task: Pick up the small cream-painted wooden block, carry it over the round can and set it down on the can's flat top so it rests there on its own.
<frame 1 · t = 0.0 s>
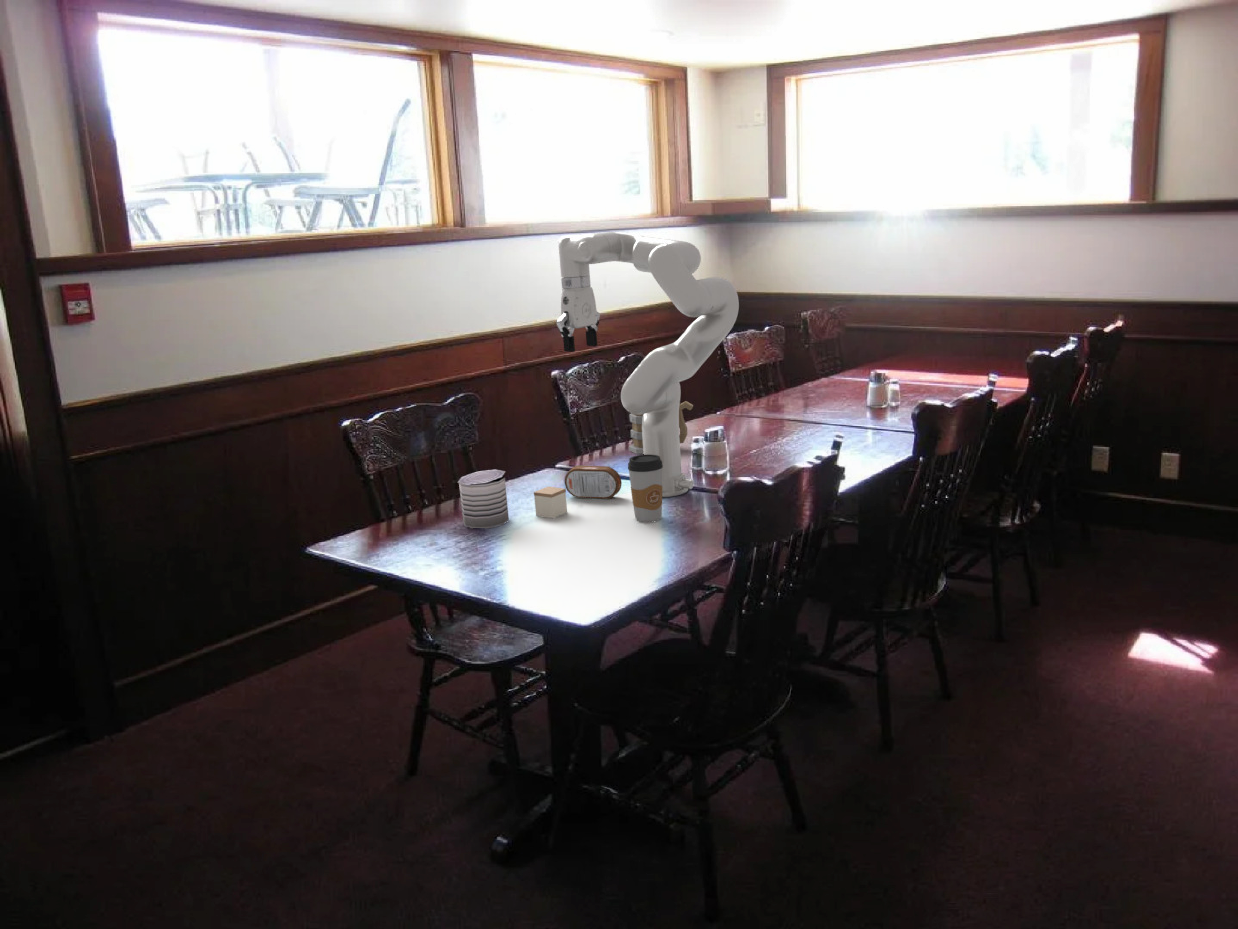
hand: (580, 348, 283), 37 cm above the table, tool pointing down, fingers open, 9 cm apart
can: (486, 522, 262), on the table
cream block: (551, 514, 264), on the table
tankard: (663, 450, 323), on the table
coffee cup: (648, 519, 255), on the table
tin: (593, 498, 276), on the table
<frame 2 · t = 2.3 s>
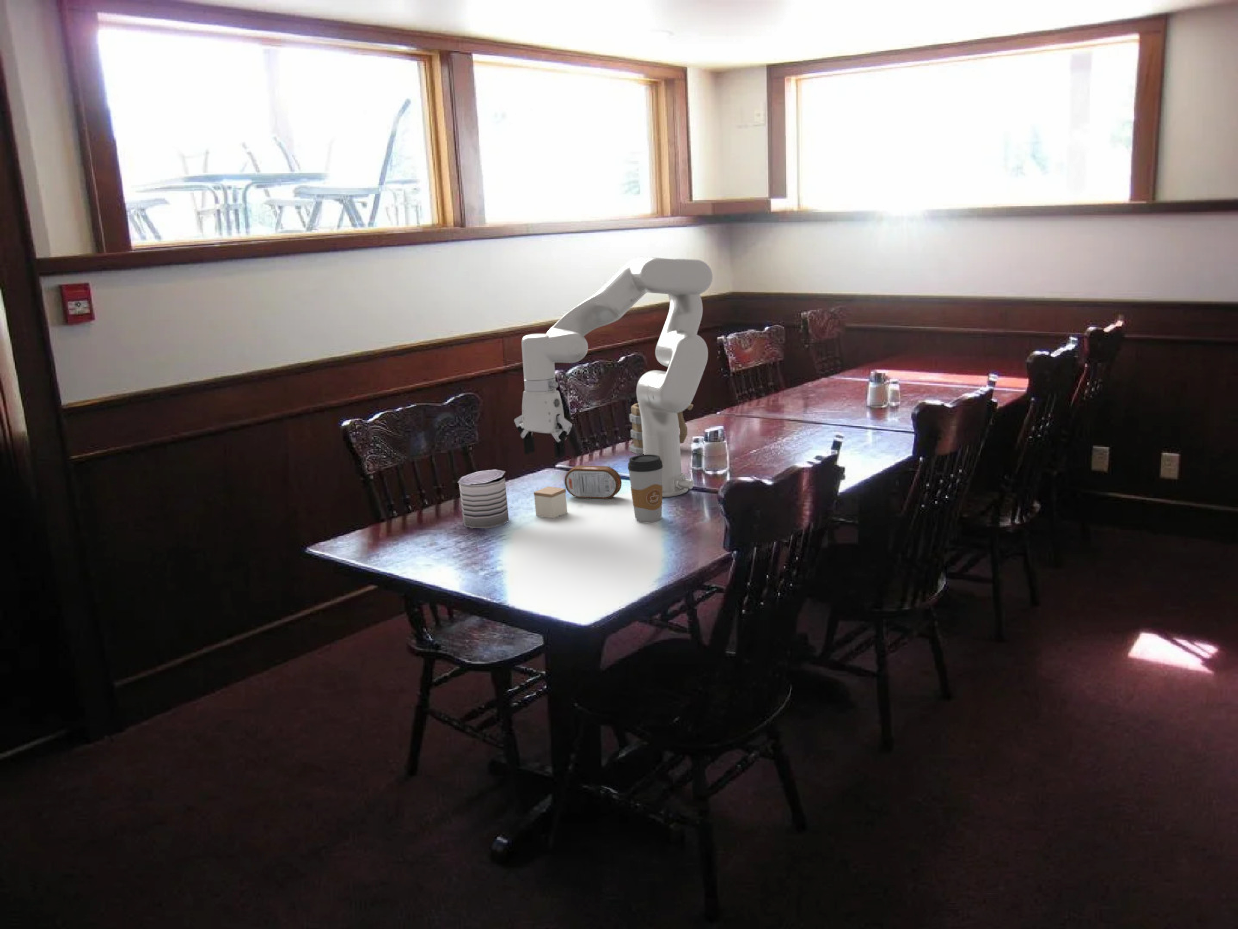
hand: (544, 454, 261), 15 cm above the table, tool pointing down, fingers open, 9 cm apart
nothing on the table moved.
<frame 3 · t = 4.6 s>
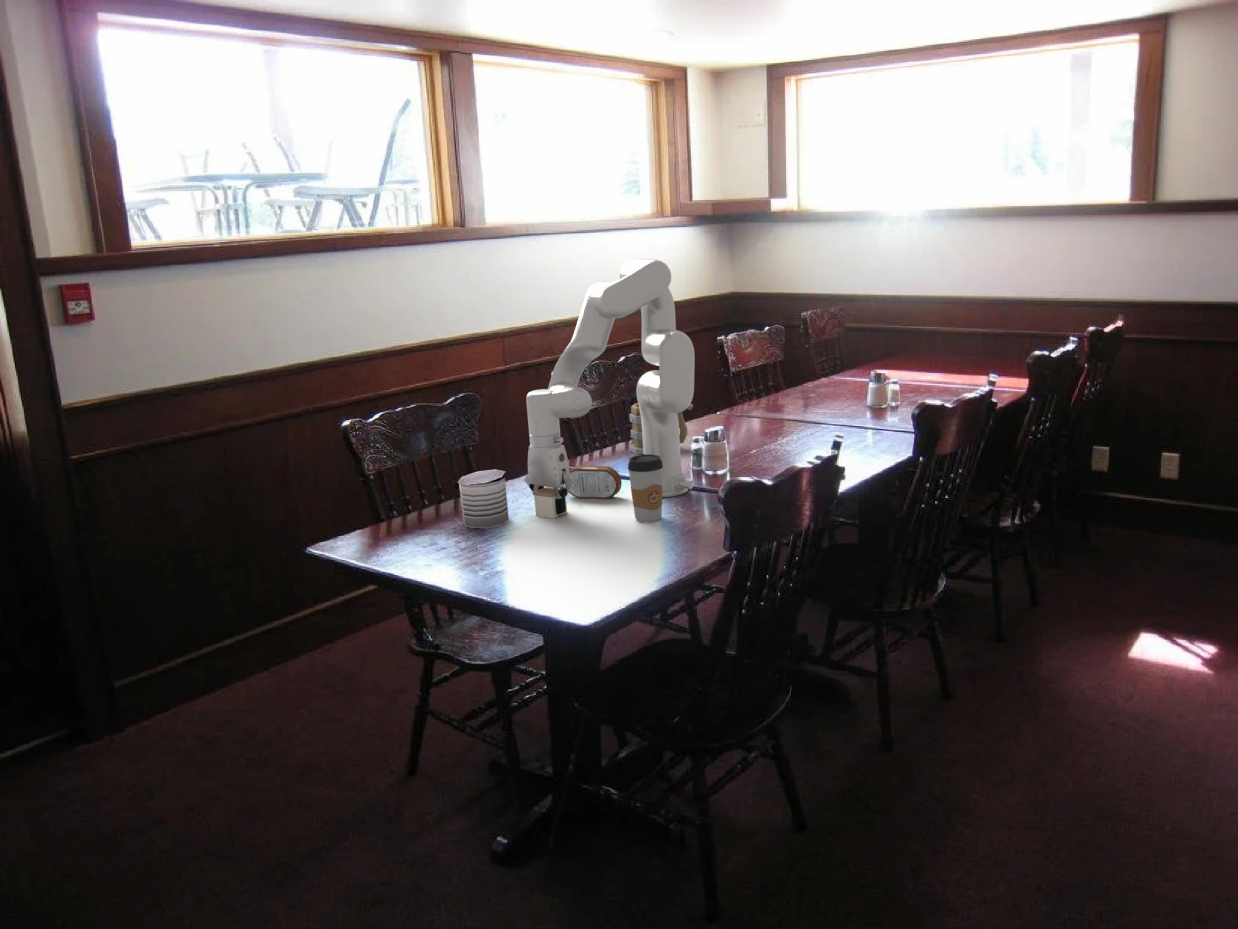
hand: (551, 510, 264), 1 cm above the table, tool pointing down, fingers closed on cream block, 5 cm apart
cream block: (551, 513, 264), on the table, touching gripper
everything else where it was.
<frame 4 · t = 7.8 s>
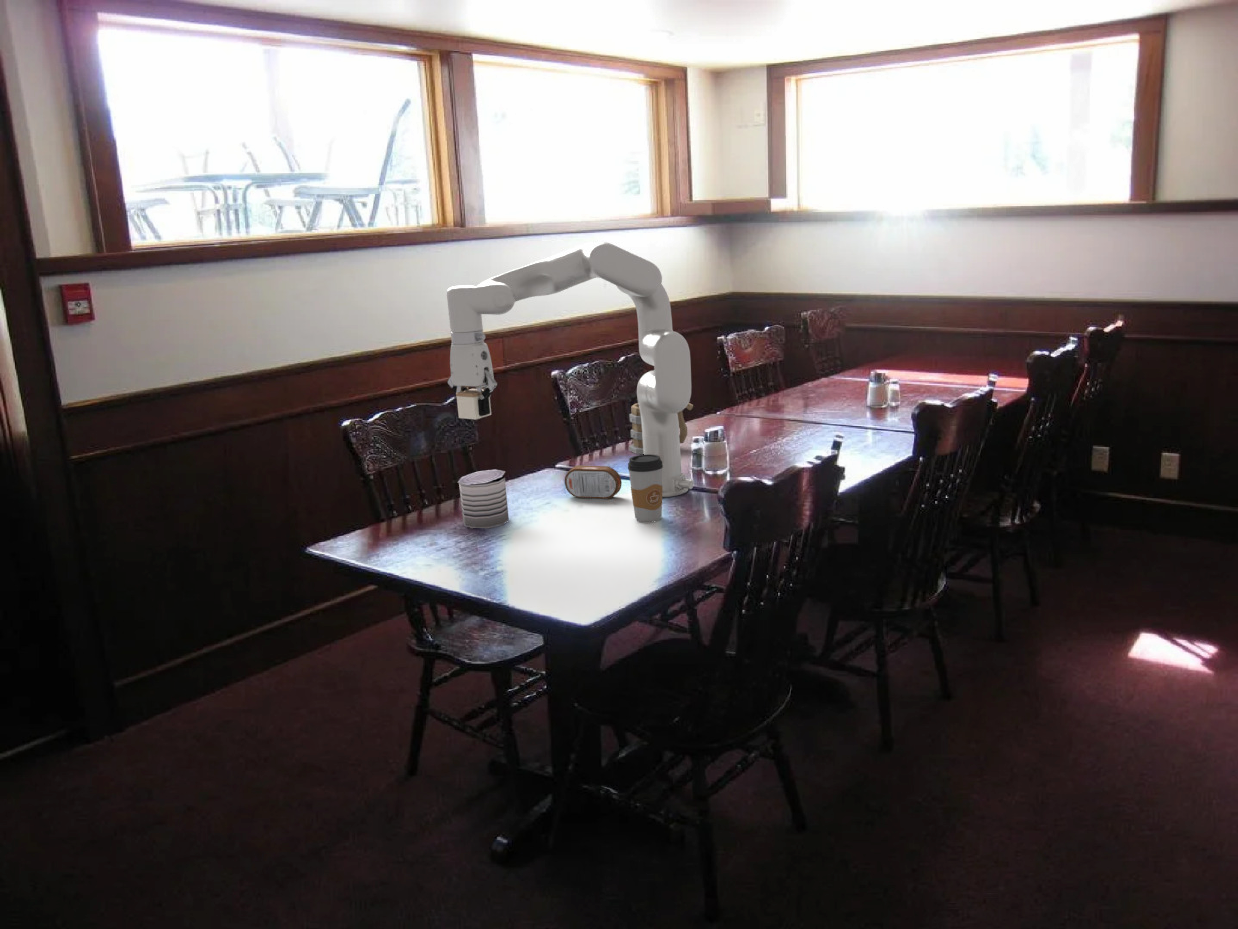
hand: (475, 413, 255), 27 cm above the table, tool pointing down, fingers closed on cream block, 5 cm apart
cream block: (475, 416, 255), point 26 cm above the table, touching gripper
everything else where it was.
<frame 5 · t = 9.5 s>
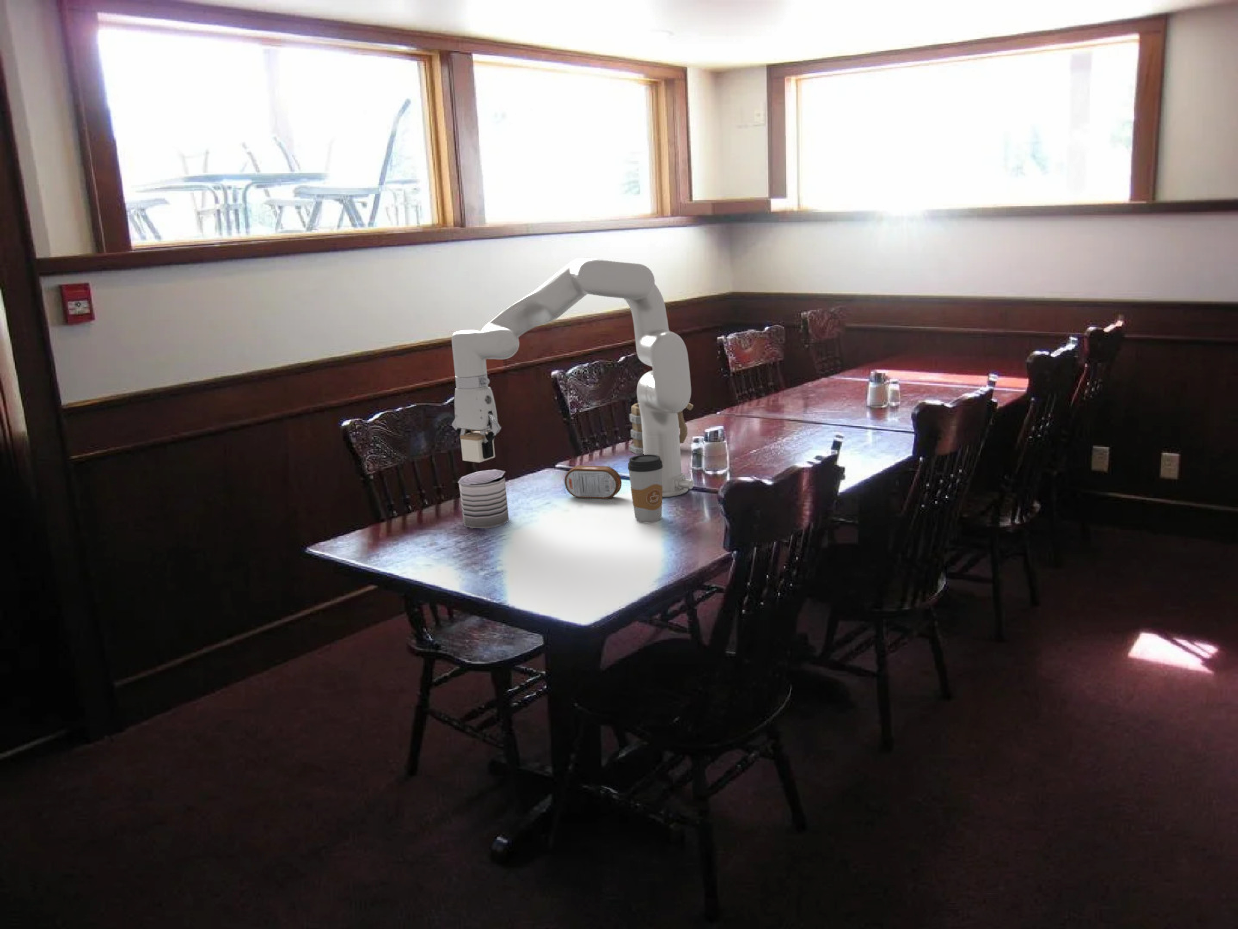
hand: (478, 455, 257), 17 cm above the table, tool pointing down, fingers closed on cream block, 5 cm apart
cream block: (478, 458, 258), point 16 cm above the table, touching gripper
everything else where it was.
when the fingers open (14 cm above the table, at t = 11.0 s): cream block drops 2 cm, resting on can.
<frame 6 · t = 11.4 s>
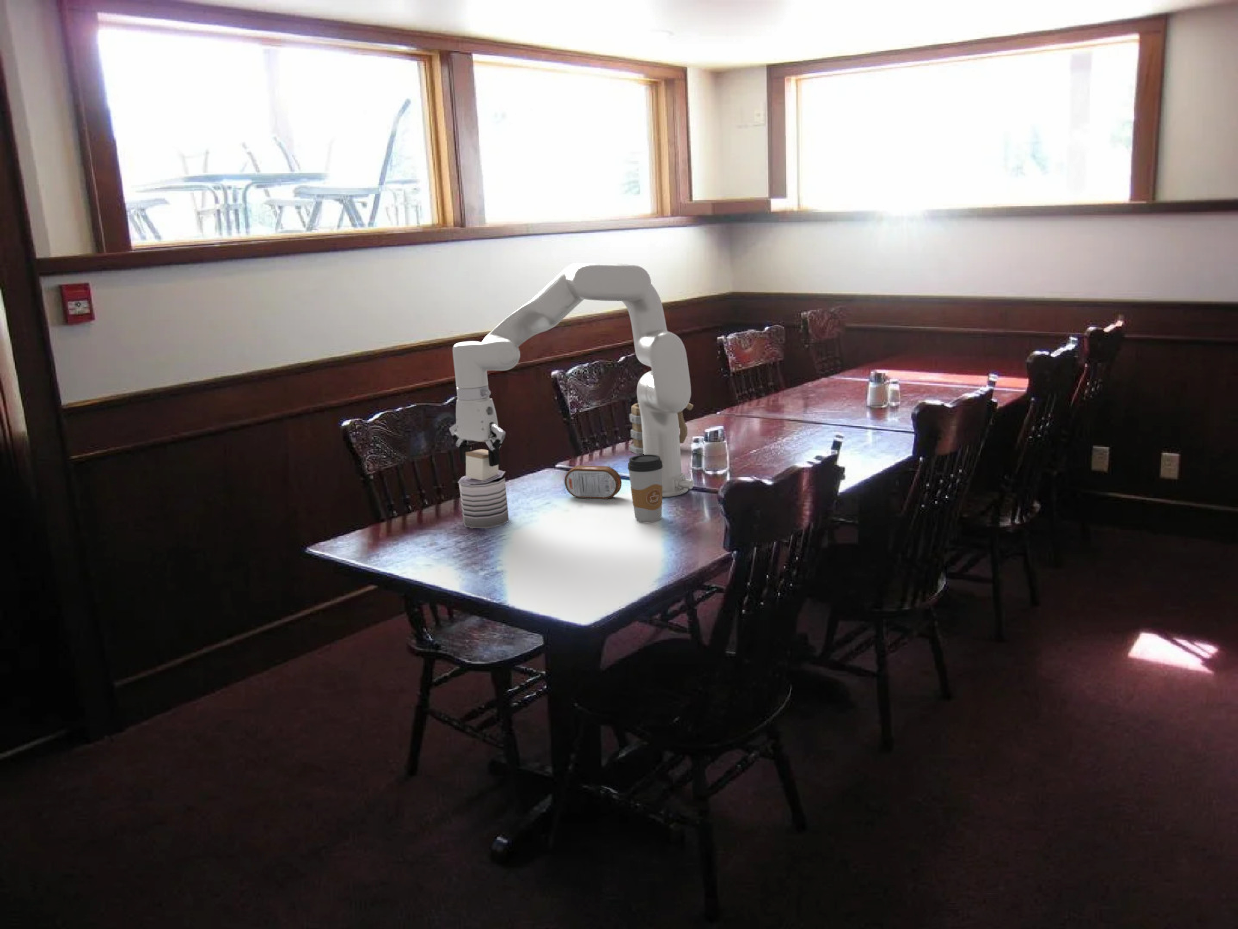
hand: (480, 463, 258), 15 cm above the table, tool pointing down, fingers open, 9 cm apart
can: (486, 523, 262), on the table, touching cream block
cream block: (482, 476, 259), point 11 cm above the table, tilted 6°, touching can
everything else where it was.
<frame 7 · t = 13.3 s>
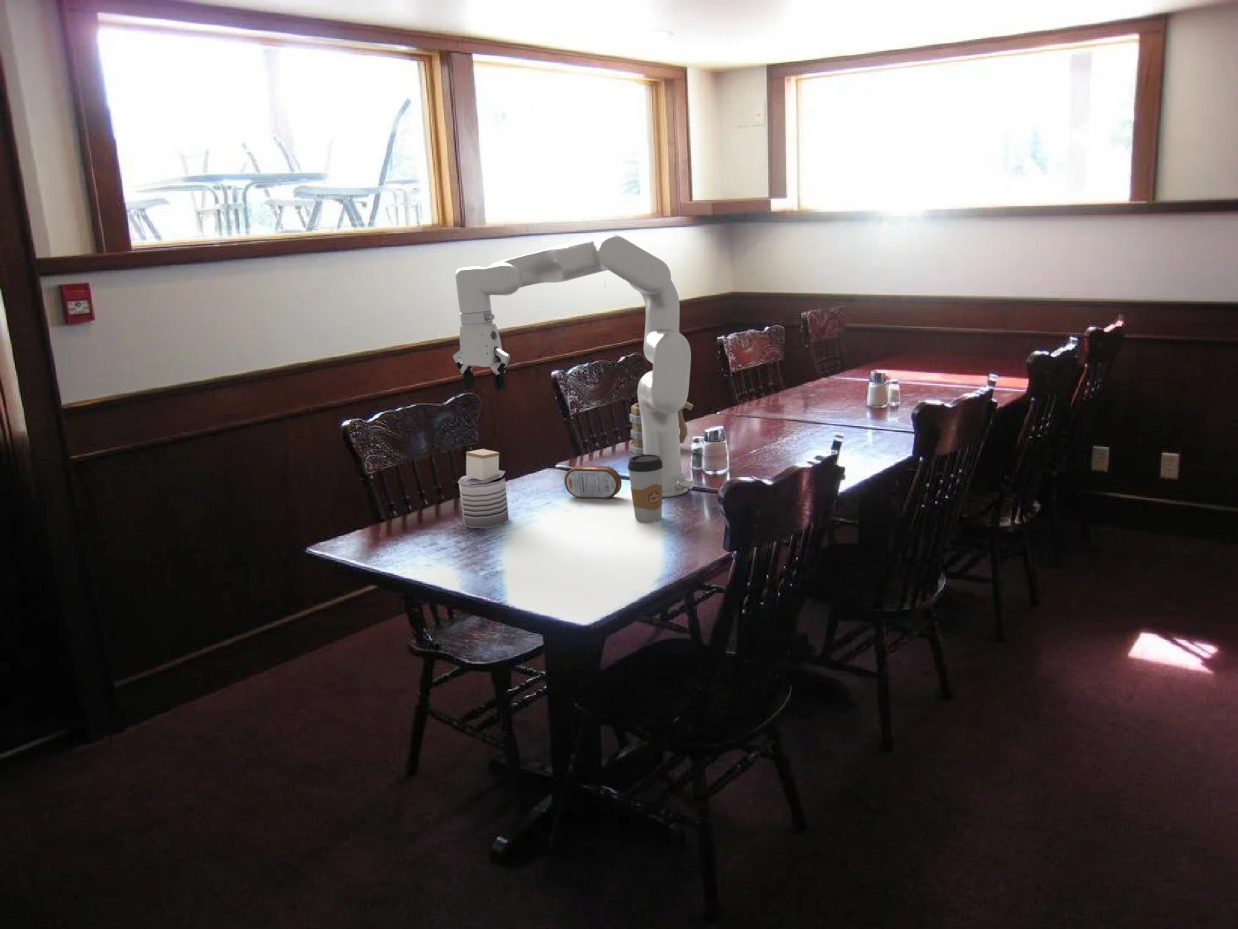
hand: (484, 389, 260), 32 cm above the table, tool pointing down, fingers open, 9 cm apart
nothing on the table moved.
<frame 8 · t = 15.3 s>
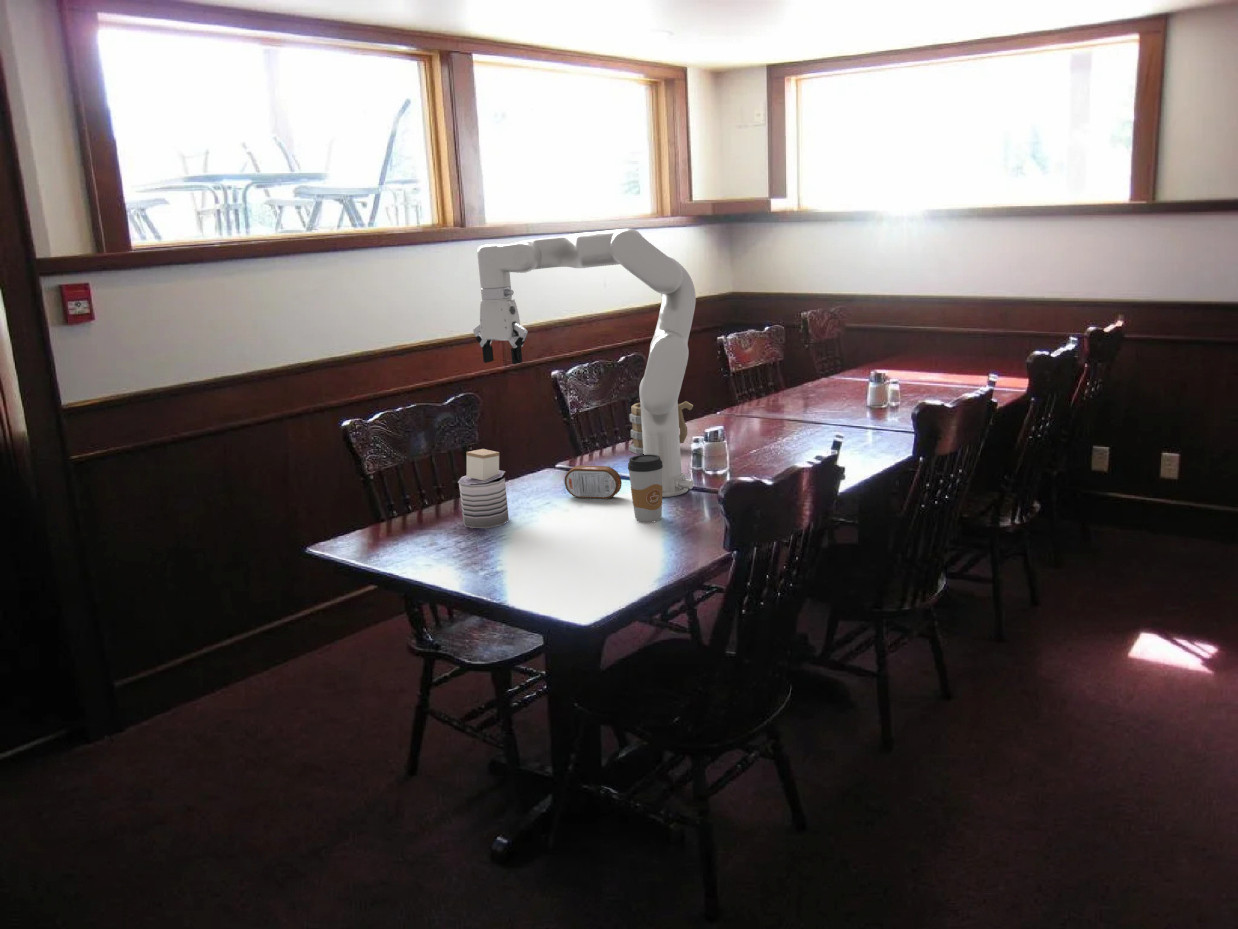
hand: (502, 362, 270), 36 cm above the table, tool pointing down, fingers open, 9 cm apart
nothing on the table moved.
at the end: cream block inside the target area on the can (0.3 cm from its centre), point 11.7 cm above the can's base; cream block tilted 6°; the gripper is holding nothing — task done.
